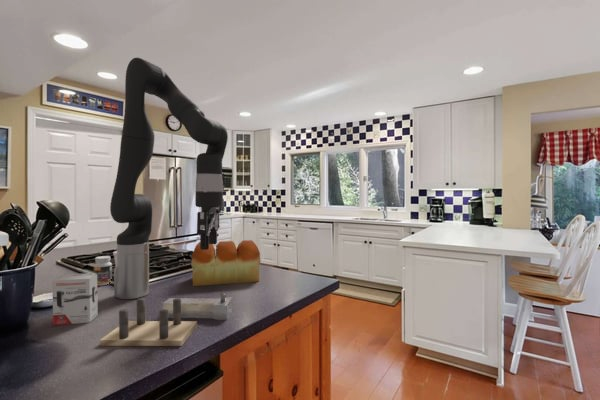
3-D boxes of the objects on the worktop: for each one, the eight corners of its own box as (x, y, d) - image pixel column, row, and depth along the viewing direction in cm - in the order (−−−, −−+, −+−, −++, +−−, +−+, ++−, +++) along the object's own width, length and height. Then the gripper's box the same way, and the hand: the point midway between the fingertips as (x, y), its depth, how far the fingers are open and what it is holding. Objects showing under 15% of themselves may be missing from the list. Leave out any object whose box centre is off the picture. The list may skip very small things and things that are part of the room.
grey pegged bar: (161, 319, 80) (161, 297, 80) (170, 310, 86) (170, 290, 86) (227, 320, 80) (227, 297, 80) (232, 311, 86) (232, 290, 86)
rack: (99, 345, 66) (99, 313, 66) (126, 325, 76) (126, 297, 76) (181, 345, 66) (181, 313, 66) (197, 326, 76) (197, 297, 76)
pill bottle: (92, 287, 107) (92, 259, 107) (94, 282, 112) (94, 256, 112) (111, 284, 110) (111, 257, 110) (112, 280, 115) (112, 255, 115)
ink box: (51, 326, 76) (51, 279, 76) (62, 318, 81) (62, 274, 80) (90, 322, 78) (89, 277, 78) (98, 315, 83) (98, 272, 82)
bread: (256, 273, 127) (256, 238, 127) (260, 281, 115) (260, 243, 115) (193, 277, 121) (193, 240, 120) (191, 286, 109) (191, 246, 108)
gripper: (203, 190, 93) (203, 242, 93) (187, 189, 79) (187, 251, 79) (227, 190, 93) (227, 242, 94) (216, 190, 79) (215, 251, 79)
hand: (209, 246), depth 86 cm, fingers open, 8 cm apart
